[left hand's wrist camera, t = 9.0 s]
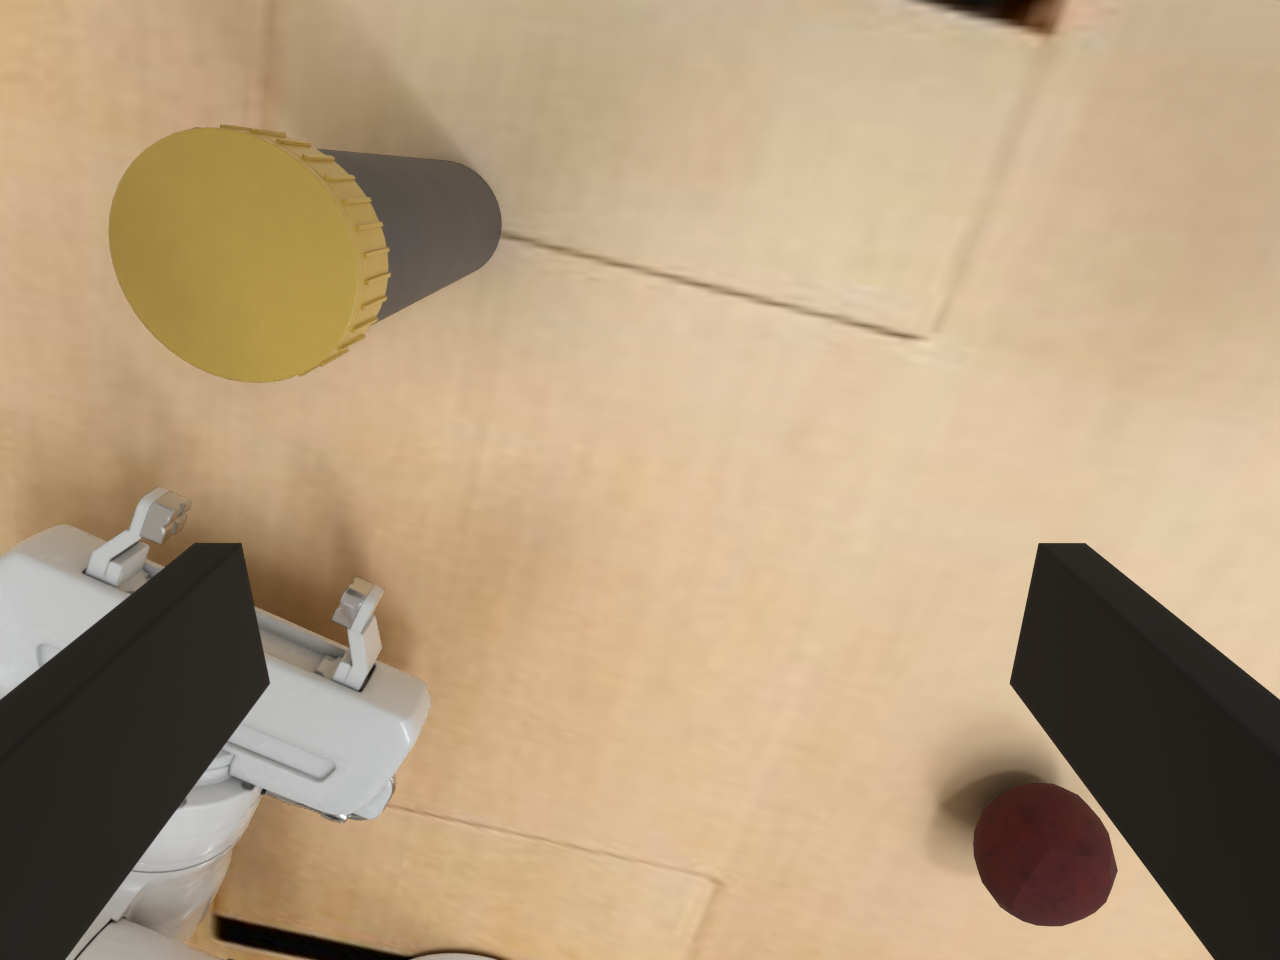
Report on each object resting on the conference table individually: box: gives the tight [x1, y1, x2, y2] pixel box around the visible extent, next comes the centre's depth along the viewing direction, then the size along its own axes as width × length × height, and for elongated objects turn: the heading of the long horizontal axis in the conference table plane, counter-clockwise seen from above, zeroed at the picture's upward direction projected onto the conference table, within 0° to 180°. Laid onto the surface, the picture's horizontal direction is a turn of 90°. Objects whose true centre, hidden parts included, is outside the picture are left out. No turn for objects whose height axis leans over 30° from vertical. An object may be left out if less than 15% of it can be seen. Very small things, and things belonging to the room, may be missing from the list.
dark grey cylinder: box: [317, 149, 501, 325], centre depth 27 cm, size 5×5×19 cm
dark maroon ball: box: [973, 783, 1118, 926], centre depth 44 cm, size 7×8×7 cm
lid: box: [109, 125, 391, 383], centre depth 18 cm, size 6×6×2 cm
